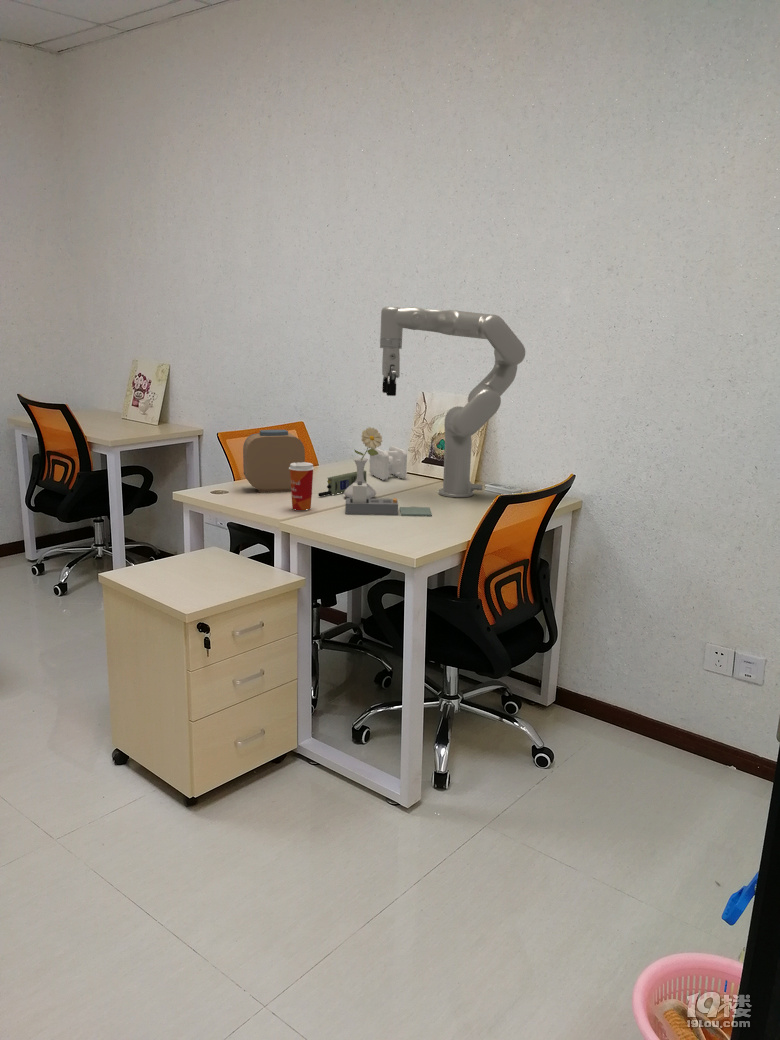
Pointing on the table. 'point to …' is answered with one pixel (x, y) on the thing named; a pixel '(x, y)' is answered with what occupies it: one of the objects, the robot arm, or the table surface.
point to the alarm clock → (271, 459)
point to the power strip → (372, 507)
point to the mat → (415, 511)
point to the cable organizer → (389, 463)
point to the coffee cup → (301, 485)
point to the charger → (359, 492)
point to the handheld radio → (340, 483)
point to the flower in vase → (371, 441)
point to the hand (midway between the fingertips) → (388, 394)
